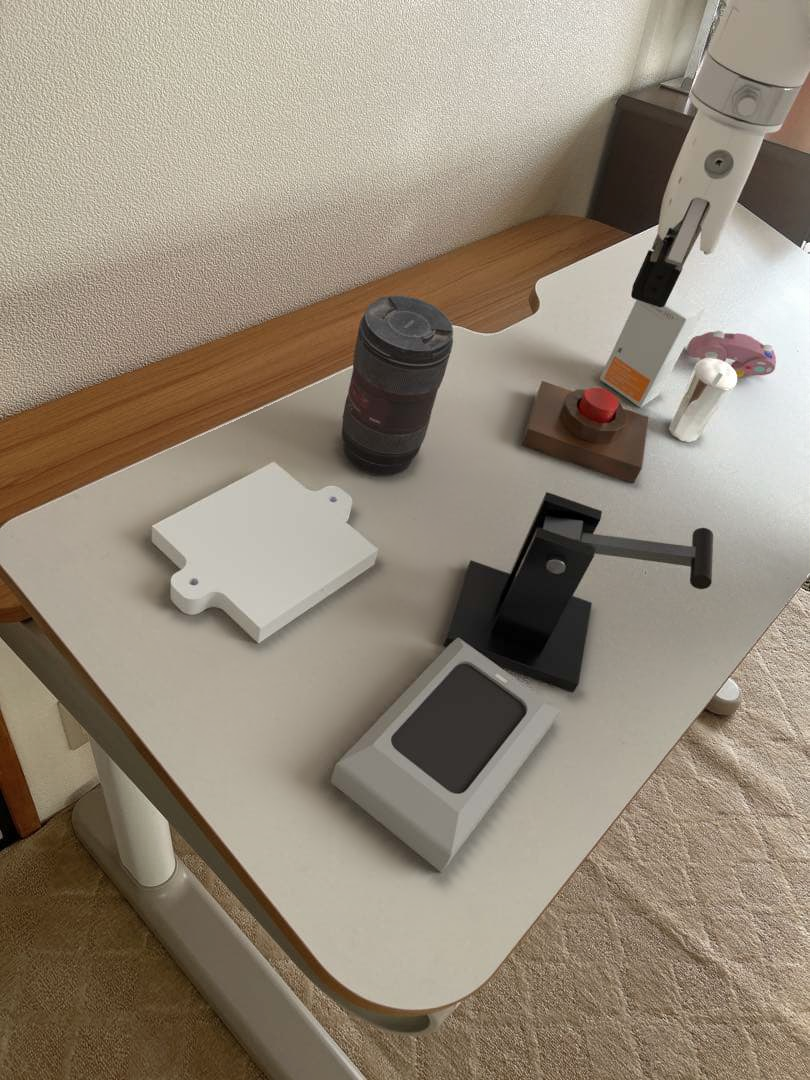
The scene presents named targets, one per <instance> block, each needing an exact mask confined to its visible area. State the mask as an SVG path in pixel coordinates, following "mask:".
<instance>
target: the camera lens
mask: <svg viewBox="0 0 810 1080" xmlns="http://www.w3.org/2000/svg"><path fill="white" fill-rule="evenodd" d="M453 335H454V327H453V324H452V322H451V320H450V319H449V317H448V316H447V314H446V313H444V312H443V311H442V310H441V309H440V308H438V307H436V306H435V305H433V304H432V303H430V302H428V301H425V300H422V299H419V298H416V297H412V296H408V295H389V296H382V297H379V298H378V299H376V300H373V301H372V302H371V303H370V304H369V305H368V306H367V307H366V309H365V311H364V315H363V316H362V317H361V319H360V322H359V326H358V330H357V336H356V341H355V342H356V343H355V346H354V351H353V363H352V373H351V377H350V383H349V387H348V392H347V396H346V398H345V403H344V408H343V412H342V413H343V414H342V425H341V426H342V427H341V437H342V440H343V451H344V455H345V456H346V458H347V460H348V461H349V462H350V463H351V464H352V465H353V466H354V467H356V468H358V469H359V470H361V471H363V472H365V473H368V474H372V475H376V476H382V477H383V476H385V477H386V476H387V477H388V476H395V475H398V474H400V473H401V474H402V473H403V472H404V471H406V470H408V468H409V467H410V466H411V464H412V462H413V459H414V458H415V457H416V456H418V454H419V452H420V451H421V447H422V444H423V443H424V440H425V438H426V435H427V432H428V428H429V425H430V421H431V417H432V416H431V415H432V411H433V408H434V404H435V402H436V397H437V394H438V390H439V388H440V387H441V386H442V385H441V384H442V383H443V379H444V377H445V373H446V371H447V366H448V363H449V360H450V356H451V354H452V349H453V345H454V338H453Z"/></svg>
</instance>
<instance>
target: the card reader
mask: <svg viewBox="0 0 810 1080" xmlns="http://www.w3.org/2000/svg"><path fill="white" fill-rule="evenodd" d="M559 714H560V709H559V708H557V707H556V706H555V705H553V704H552V703H550V702H549V701H548V700H547V699H545V698H544V697H542V696H541V695H539V694H538V693H536V691H534V690H532V689H531V688H529V686H527V685H525V684H524V683H523V682H522V681H520V680H519V679H518V678H515V677H514V676H513V675H512V674H510V673H509V672H508V671H506V670H505V669H503V667H501V666H498V665H496V664H495V663H493V662H492V661H491V660H489V659H488V658H486V657H485V656H484V655H482V654H481V653H479V652H478V651H477V650H475V649H474V648H472V647H471V646H470V645H468V644H467V643H466V642H464V641H463V640H461V639H460V638H457V639H455V640H454V641H453V642H452V643H451V644H450V645H449V646H448V647H446V648H444V650H443V651H441V653H440V654H439V655H438V656H437V657H436V658H435V659H434V660H433V661H432V662H431V663H430V664H429V666H428V667H427V668H426V669H425V670H424V671H423V672H422V673H421V674H420V675H419V676H418V677H417V678H416V679H415V680H414V681H413V683H412V684H410V686H408V687H407V689H406V690H405V691H404V692H403V693H402V694H401V695H400V696H399V697H398V698H397V699H396V700H395V702H393V703H392V705H390V707H388V709H386V711H385V712H384V713H383V714H382V715H381V716H380V717H379V718H378V719H377V720H376V721H375V723H373V725H372V726H371V727H370V728H369V729H368V730H367V731H366V732H365V733H364V734H363V735H362V736H361V737H360V738H359V739H358V740H357V741H356V743H355V744H354V745H353V746H352V747H351V748H350V749H349V750H348V751H347V752H346V753H345V754H344V755H343V756H342V757H341V759H339V760H338V761H337V763H336V764H335V765H334V768H333V772H332V775H331V778H330V780H329V781H330V784H332V785H333V786H334V787H336V788H337V790H340V791H341V792H342V793H343V794H344V795H345V796H347V797H348V798H349V799H350V800H351V801H353V802H354V803H355V804H356V805H357V806H359V807H360V808H361V809H362V810H363V811H365V812H366V813H367V814H368V815H370V816H371V817H372V818H373V819H374V820H376V821H377V822H378V823H380V824H381V825H382V826H383V827H384V828H386V829H387V830H388V831H389V832H390V833H392V834H393V835H394V836H396V837H397V838H398V839H399V840H400V841H402V842H403V843H404V844H405V845H406V846H408V847H409V848H410V849H411V850H412V851H414V852H415V853H416V854H418V855H419V856H420V857H421V858H422V859H424V860H425V861H426V862H427V863H428V864H430V865H431V866H432V867H433V868H434V869H436V870H437V871H438V872H439V873H441V874H442V873H443V872H444V870H445V869H446V867H447V866H449V864H450V862H451V861H452V859H453V858H454V857H455V855H457V853H458V851H459V850H460V849H461V848H462V846H463V845H464V844H465V842H466V841H467V840H468V838H469V837H470V835H472V833H473V832H474V831H475V828H477V826H478V825H479V823H480V822H481V820H483V818H484V817H485V815H486V814H487V813H488V811H489V810H490V808H491V807H492V806H493V805H494V803H495V802H496V800H497V799H498V798H499V796H501V794H502V793H503V791H504V790H505V789H506V787H507V786H508V785H509V783H510V782H511V780H512V779H513V778H514V777H515V775H516V774H517V772H518V771H519V770H520V769H521V767H522V766H523V765H524V764H525V762H526V760H527V759H528V758H529V756H530V755H531V753H532V752H533V751H534V750H535V748H536V747H537V746H538V744H539V743H540V741H541V740H543V738H544V736H545V735H546V734H547V732H548V731H549V730H550V728H551V727H552V725H553V724H554V722H555V721H556V718H558V716H559Z"/></svg>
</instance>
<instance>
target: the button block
mask: <svg viewBox="0 0 810 1080" xmlns="http://www.w3.org/2000/svg"><path fill="white" fill-rule="evenodd" d="M587 389H588V388H577V389H574V390H571V389H568V388H565V387H563V386H560V385H556V384H554V383H551V382H547V381H544V380H541V382H540V384H539V387H538V390H537V392H536V394H535V398H534V401H533V405H532V408H531V411H530V415H529V418H528V422H527V425H526V428H525V432H524V435H523V439H522V441H521V445H522V446H524V447H525V448H526V447H527V448H530V449H532V450H535V451H538V452H540V453H544V454H547V455H550V456H552V457H555V458H559V459H561V460H564V461H567V462H570V463H573V464H576V465H579V466H582V467H585V468H587V469H590V470H593V471H596V472H599V473H601V474H605V475H608V476H611V477H614V478H616V479H618V480H619V479H620V480H622V481H625V482H628V483H631V484H635V482H636V480H637V479H638V477H639V475H640V473H641V471H642V468H643V462H644V456H645V448H646V441H647V432H648V424H649V416H646V415H644V414H641V413H638V412H636V411H632V410H629V409H626V408H624V407H623V406H622V404H621V403H620V402H619V401H618V407H617V409H616V411H615V413H614V415H613V417H612V419H611V420H610V421H609V422H606V423H598V422H596V421H593V420H590V419H588V418H587V417H585V416H584V415H583V414H581V412H580V411H579V404H580V401H581V399H582V397H583V395H584V392H585V391H586V390H587Z"/></svg>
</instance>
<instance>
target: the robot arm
mask: <svg viewBox="0 0 810 1080" xmlns="http://www.w3.org/2000/svg"><path fill="white" fill-rule="evenodd" d="M809 73H810V0H728V1H727V4H726V6H725V9H724V11H723V13H722V15H721V18H720V20H719V23H718V25H717V28H716V30H715V32H714V34H713V36H712V39H711V41H710V44H709V45H708V49H707V50H706V53H705V55H704V57H703V60H702V63H701V65H700V67H699V70H698V72H697V74H696V77H695V78H694V81H693V84H692V87H691V89H690V91H689V93H688V99H689V101H690V102H691V104H692V105H693V106H694V107H695V108H696V109H697V112H696V115H695V117H694V119H693V121H692V123H691V125H690V128H689V130H688V132H687V134H686V137H685V139H684V142H683V144H682V146H681V148H680V150H679V153H678V156H677V159H676V161H675V163H674V166H673V168H672V171H671V173H670V177H669V179H668V182H667V185H666V188H665V191H664V194H663V197H662V200H661V207H660V213H659V218H658V225H657V234H656V236H655V239H654V240H653V244H652V246H651V249H648V250H647V253H646V254H645V257H644V259H643V262H642V264H641V266H640V269H639V271H638V273H637V275H636V277H635V279H634V282H633V284H632V288H631V293H630V296H631V298H632V299H633V300H635V301H636V300H639V301H642V302H645V303H648V304H651V305H654V306H657V307H664V306H665V304H666V302H667V300H668V298H669V296H670V294H671V292H672V290H674V288H675V285H676V284H677V281H678V279H679V277H680V275H681V273H682V271H683V268H684V265H685V263H686V261H687V259H688V256H689V255H690V254H691V251H692V249H693V247H694V246H695V244H696V241H697V239H698V237H699V236H700V240H699V241H700V243H699V251H701V252H703V255H706V256H708V255H711V254H713V253H714V252H715V250H716V248H717V246H718V243H719V241H720V239H721V238H722V236H723V233H724V230H725V229H726V226H727V224H728V222H729V220H730V218H731V215H732V213H733V211H734V209H735V207H736V205H737V202H738V201H739V198H740V196H741V194H742V192H743V190H744V187H745V185H746V183H747V180H748V178H749V175H750V174H751V171H752V169H753V166H754V164H755V161H756V159H757V157H758V153H759V152H760V149H761V146H762V144H763V140H764V138H765V136H766V134H774V133H777V132H778V131H780V130H781V129H782V126H783V125H784V123H785V121H786V118H787V117H788V115H789V113H790V111H791V109H792V107H793V105H794V103H795V101H796V99H797V97H798V95H799V93H800V91H801V89H802V87H803V85H804V83H805V81H806V79H807V78H808V75H809Z"/></svg>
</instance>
